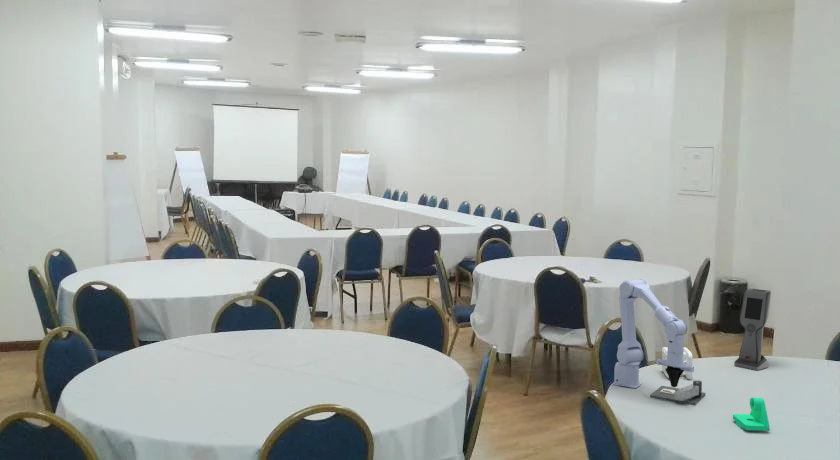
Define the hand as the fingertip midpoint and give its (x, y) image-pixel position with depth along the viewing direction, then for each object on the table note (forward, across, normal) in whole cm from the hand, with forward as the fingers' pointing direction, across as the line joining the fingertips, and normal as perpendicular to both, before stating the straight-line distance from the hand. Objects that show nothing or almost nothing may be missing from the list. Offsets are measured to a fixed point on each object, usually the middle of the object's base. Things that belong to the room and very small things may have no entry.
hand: (674, 386), depth 265 cm
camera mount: (+6, -32, +7) cm, 34 cm away
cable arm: (+4, -4, -4) cm, 7 cm away
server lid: (+5, +2, -6) cm, 8 cm away
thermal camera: (+6, +4, -74) cm, 74 cm away
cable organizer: (+6, +17, -32) cm, 37 cm away
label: (+5, +6, -6) cm, 10 cm away
